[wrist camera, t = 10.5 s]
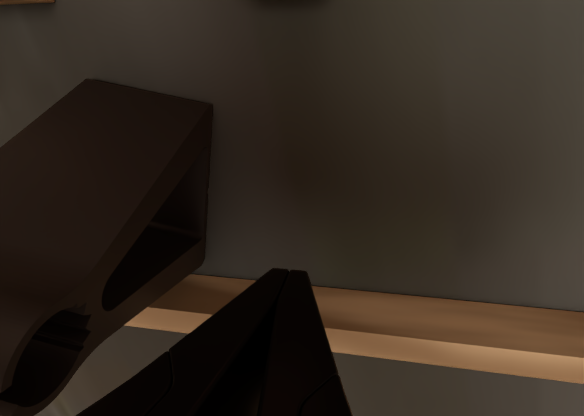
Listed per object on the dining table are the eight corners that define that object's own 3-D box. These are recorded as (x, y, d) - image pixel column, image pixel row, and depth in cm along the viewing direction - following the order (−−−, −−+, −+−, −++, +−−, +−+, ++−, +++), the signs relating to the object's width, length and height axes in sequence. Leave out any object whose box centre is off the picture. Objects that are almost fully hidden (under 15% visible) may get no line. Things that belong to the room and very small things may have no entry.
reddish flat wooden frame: (630, 341, 18) (674, 395, 16) (-15, 271, 25) (-61, 301, 22) (1167, -679, 7) (1679, -1126, 4) (-295, -302, 13) (-458, -381, 11)
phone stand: (92, 76, 17) (-345, 164, 7) (214, 103, 17) (-48, 242, 6) (106, 236, 21) (-146, 444, 11) (204, 261, 21) (38, 504, 10)
